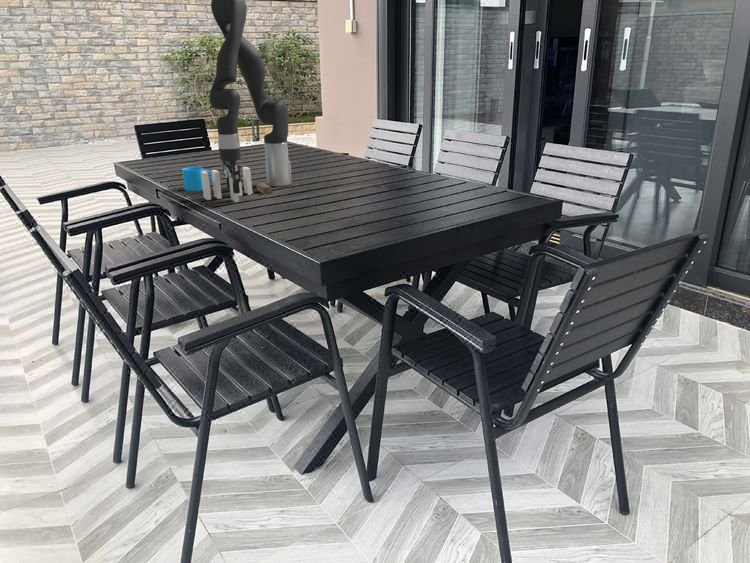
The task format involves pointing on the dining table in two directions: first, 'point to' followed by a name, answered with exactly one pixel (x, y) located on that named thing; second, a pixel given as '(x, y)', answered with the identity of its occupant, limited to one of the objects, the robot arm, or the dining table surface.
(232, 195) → the domino
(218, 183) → the domino
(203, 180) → the domino
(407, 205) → the dining table surface
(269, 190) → the end stop
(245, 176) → the domino end
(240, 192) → the domino
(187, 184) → the mug
